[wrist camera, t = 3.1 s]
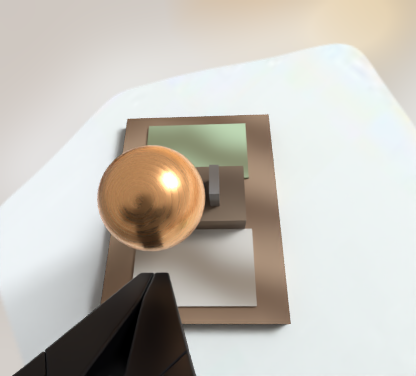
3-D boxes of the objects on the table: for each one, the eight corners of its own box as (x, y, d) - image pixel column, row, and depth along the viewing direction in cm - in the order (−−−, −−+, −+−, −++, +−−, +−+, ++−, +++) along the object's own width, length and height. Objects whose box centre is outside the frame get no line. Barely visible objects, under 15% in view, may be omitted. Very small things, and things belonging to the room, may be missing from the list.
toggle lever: (215, 215, 19) (202, 262, 7) (169, 216, 20) (77, 263, 7) (214, 169, 19) (200, 134, 7) (168, 170, 20) (75, 138, 7)
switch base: (287, 324, 19) (307, 322, 15) (103, 323, 20) (67, 322, 15) (266, 121, 26) (275, 78, 21) (130, 126, 26) (111, 84, 22)
